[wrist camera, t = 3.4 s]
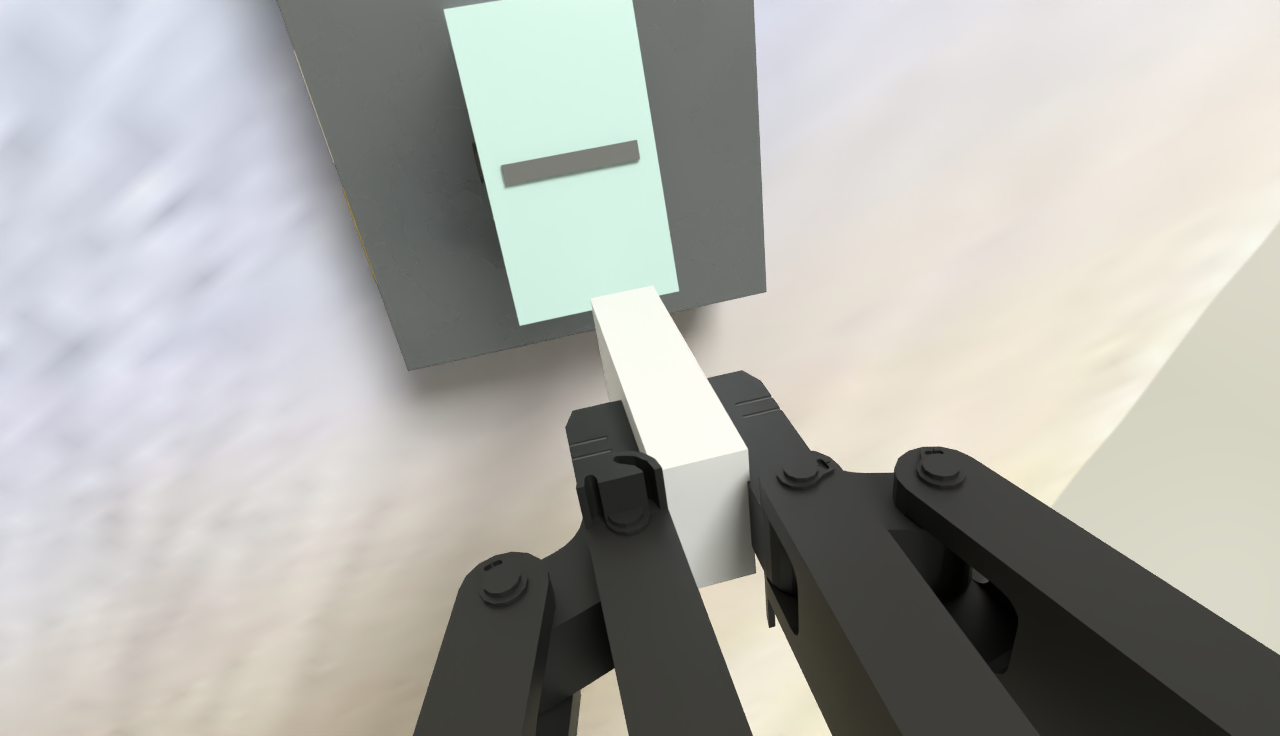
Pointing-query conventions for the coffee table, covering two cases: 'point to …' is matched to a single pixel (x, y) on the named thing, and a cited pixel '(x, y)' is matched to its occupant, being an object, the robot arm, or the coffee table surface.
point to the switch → (565, 149)
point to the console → (453, 178)
